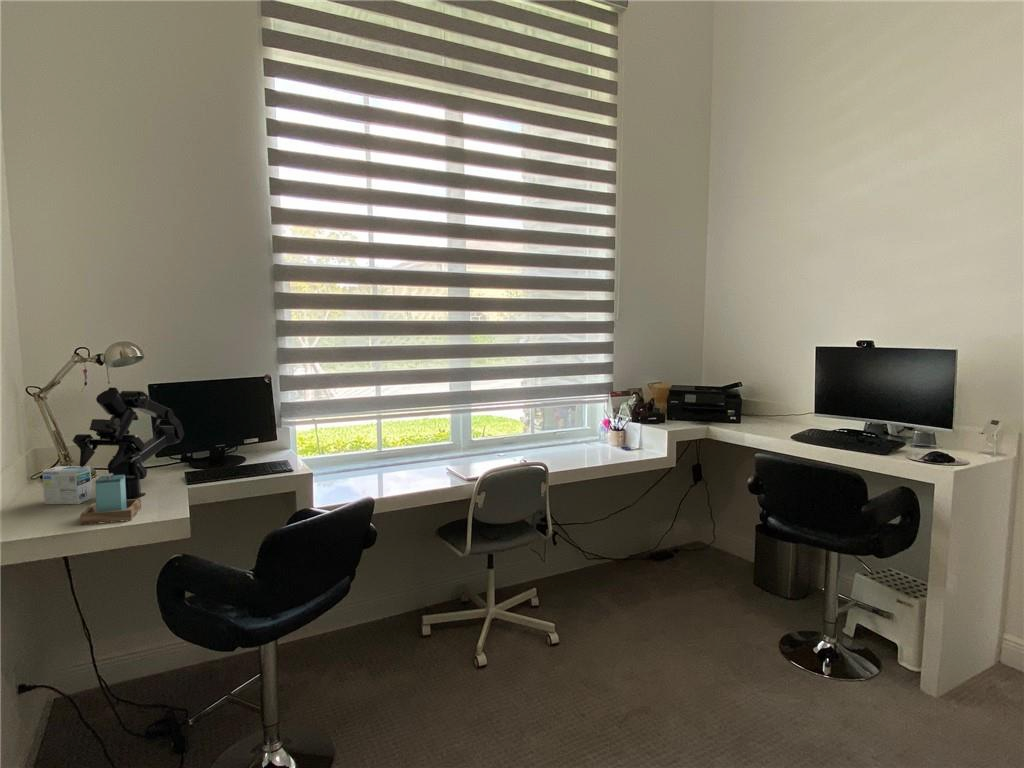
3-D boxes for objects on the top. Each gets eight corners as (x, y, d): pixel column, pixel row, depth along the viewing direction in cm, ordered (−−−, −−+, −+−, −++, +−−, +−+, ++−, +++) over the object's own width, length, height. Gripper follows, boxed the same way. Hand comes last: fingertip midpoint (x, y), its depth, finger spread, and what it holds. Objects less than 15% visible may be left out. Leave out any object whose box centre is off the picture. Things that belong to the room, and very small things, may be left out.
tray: (94, 512, 175) (94, 502, 174) (141, 508, 179) (140, 498, 179) (81, 524, 163) (80, 514, 163) (131, 520, 168) (130, 510, 167)
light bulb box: (93, 498, 188) (91, 465, 187) (78, 504, 182) (76, 470, 181) (59, 498, 188) (57, 465, 187) (43, 504, 181) (41, 470, 180)
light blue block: (102, 511, 172) (100, 472, 171) (126, 509, 175) (124, 471, 174) (97, 516, 167) (95, 477, 166) (121, 514, 170) (119, 475, 168)
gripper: (74, 408, 178) (48, 451, 168) (136, 408, 178) (114, 452, 168) (94, 429, 187) (70, 471, 177) (153, 429, 187) (133, 472, 177)
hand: (96, 466), depth 174 cm, fingers open, 9 cm apart
